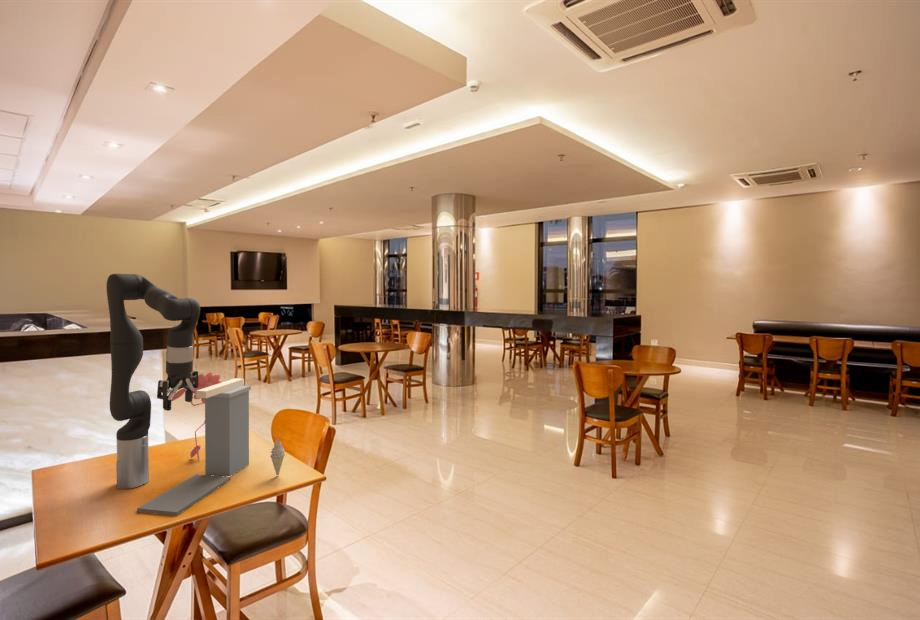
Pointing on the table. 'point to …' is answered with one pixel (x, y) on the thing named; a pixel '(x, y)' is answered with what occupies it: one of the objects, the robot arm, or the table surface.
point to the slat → (219, 388)
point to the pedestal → (227, 432)
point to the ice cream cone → (277, 456)
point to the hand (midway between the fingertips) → (178, 405)
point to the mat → (183, 495)
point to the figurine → (202, 383)
